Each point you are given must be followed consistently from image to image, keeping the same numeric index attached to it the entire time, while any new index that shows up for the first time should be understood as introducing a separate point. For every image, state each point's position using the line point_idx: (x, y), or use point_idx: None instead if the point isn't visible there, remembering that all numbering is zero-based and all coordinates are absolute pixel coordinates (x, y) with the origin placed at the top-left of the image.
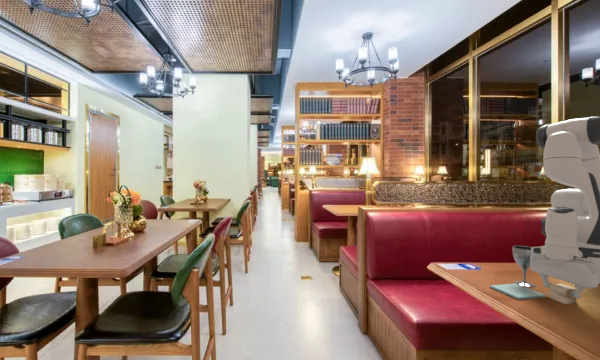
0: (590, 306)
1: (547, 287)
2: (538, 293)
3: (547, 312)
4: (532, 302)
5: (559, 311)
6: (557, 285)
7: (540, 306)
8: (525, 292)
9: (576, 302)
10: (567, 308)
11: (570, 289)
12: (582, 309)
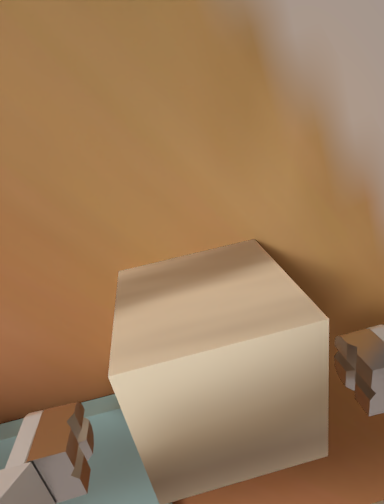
0: (337, 182)
1: (89, 435)
2: (100, 437)
3: (346, 484)
4: (224, 493)
5: (351, 435)
6: (188, 451)
7: (279, 482)
8: (87, 499)
9: (256, 241)
10: (329, 375)
11: (324, 394)
12: (363, 297)
